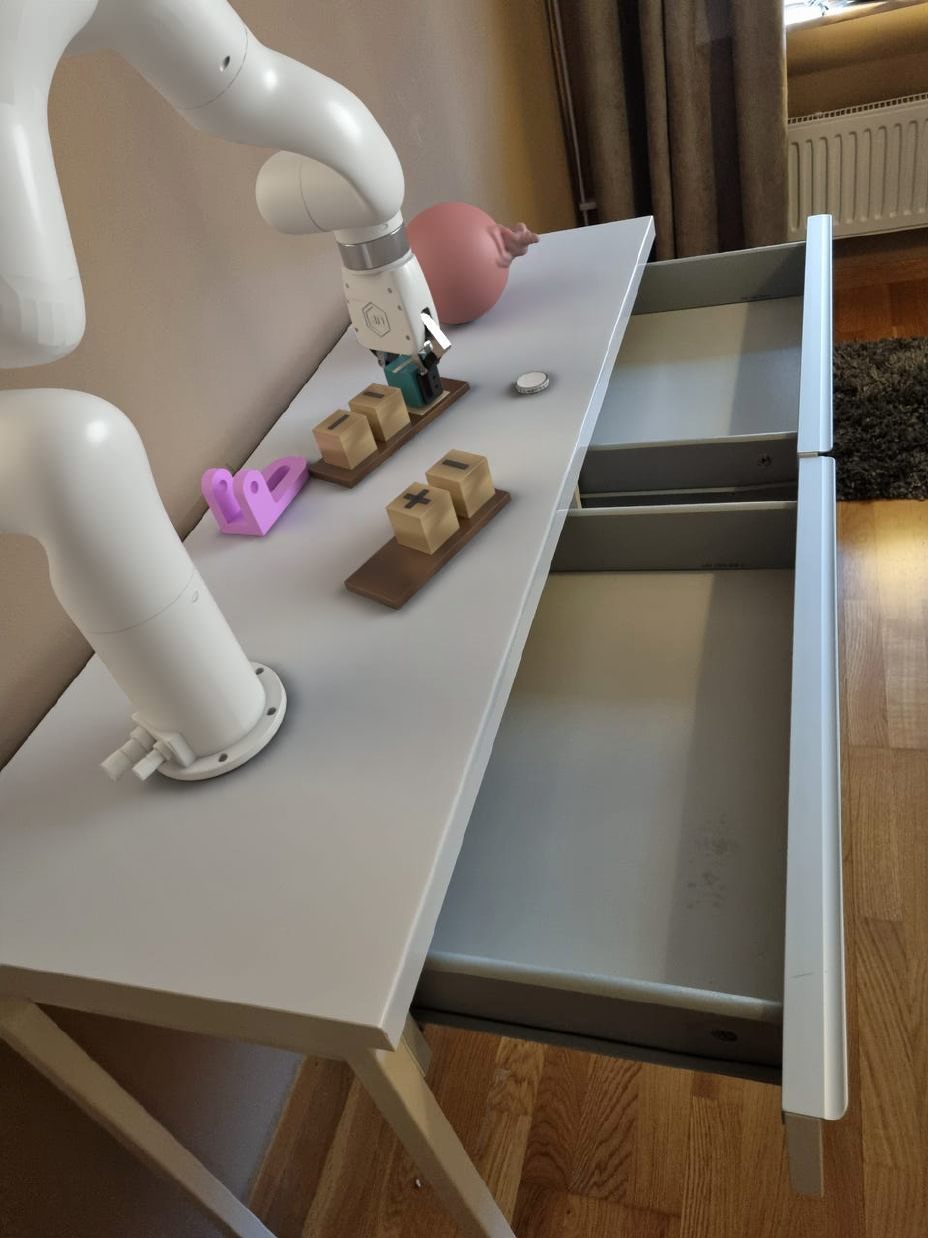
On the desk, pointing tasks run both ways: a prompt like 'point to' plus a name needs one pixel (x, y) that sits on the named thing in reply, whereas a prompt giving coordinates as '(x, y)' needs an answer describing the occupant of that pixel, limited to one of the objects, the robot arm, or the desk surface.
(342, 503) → the desk surface
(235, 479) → the bracket
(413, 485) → the wooden board with cubes
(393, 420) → the far word
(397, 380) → the striped teal cube
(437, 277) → the balloon
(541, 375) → the white flat disc
